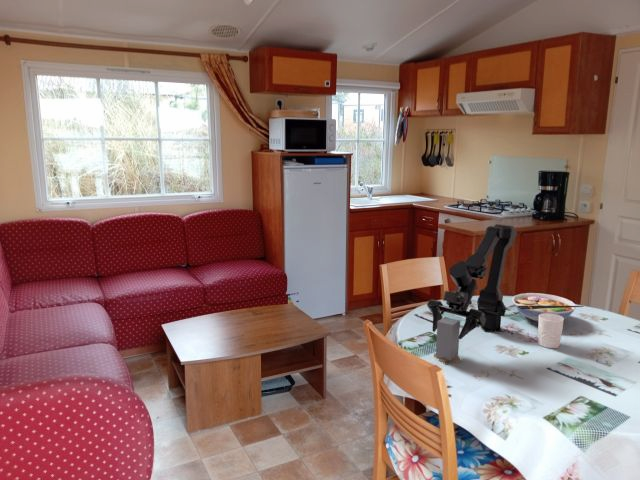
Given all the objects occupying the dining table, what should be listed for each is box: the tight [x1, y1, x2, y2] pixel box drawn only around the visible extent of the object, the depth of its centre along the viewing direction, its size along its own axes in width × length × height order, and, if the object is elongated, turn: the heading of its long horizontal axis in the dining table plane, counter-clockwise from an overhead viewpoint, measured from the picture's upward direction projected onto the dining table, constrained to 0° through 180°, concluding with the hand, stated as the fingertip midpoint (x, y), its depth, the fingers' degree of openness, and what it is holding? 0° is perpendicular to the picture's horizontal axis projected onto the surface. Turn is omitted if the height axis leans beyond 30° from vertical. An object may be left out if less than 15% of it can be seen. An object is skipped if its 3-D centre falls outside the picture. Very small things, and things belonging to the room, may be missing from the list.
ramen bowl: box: [511, 292, 585, 323], centre depth 196 cm, size 25×23×8 cm
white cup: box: [537, 313, 565, 349], centre depth 173 cm, size 8×8×10 cm
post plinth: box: [433, 352, 461, 364], centre depth 163 cm, size 6×6×6 cm
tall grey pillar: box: [435, 316, 461, 361], centre depth 163 cm, size 5×5×12 cm
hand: (446, 335), depth 161 cm, fingers open, 9 cm apart
